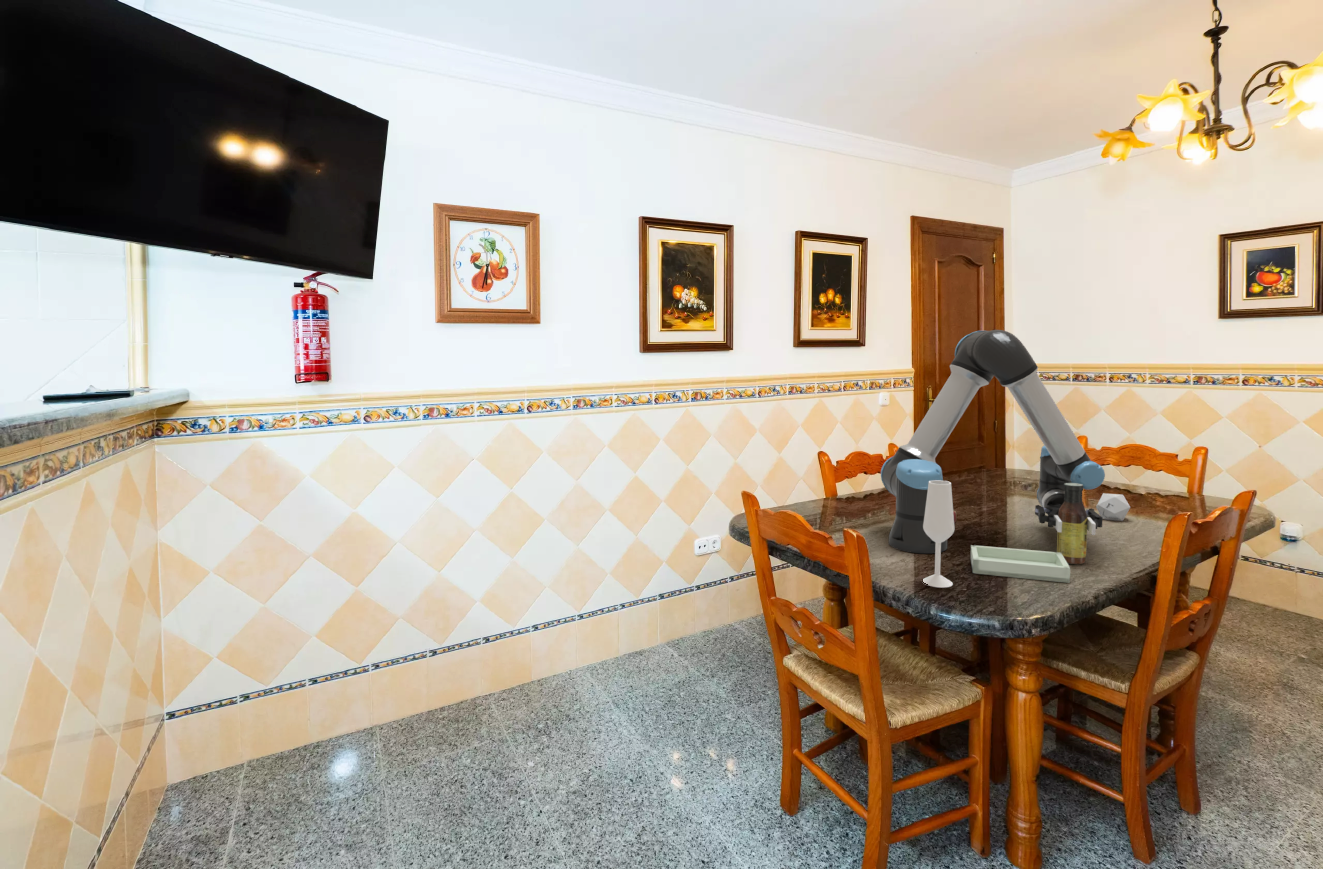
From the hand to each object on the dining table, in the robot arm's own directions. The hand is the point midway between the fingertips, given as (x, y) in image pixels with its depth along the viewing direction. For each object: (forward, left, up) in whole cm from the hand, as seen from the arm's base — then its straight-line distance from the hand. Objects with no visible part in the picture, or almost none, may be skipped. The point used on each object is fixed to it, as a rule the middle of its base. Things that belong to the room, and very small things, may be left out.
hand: (1076, 528), depth 152 cm
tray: (-13, -6, -10) cm, 17 cm away
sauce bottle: (0, +5, -10) cm, 11 cm away
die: (+19, +53, -10) cm, 57 cm away
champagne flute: (-31, -21, -10) cm, 39 cm away
